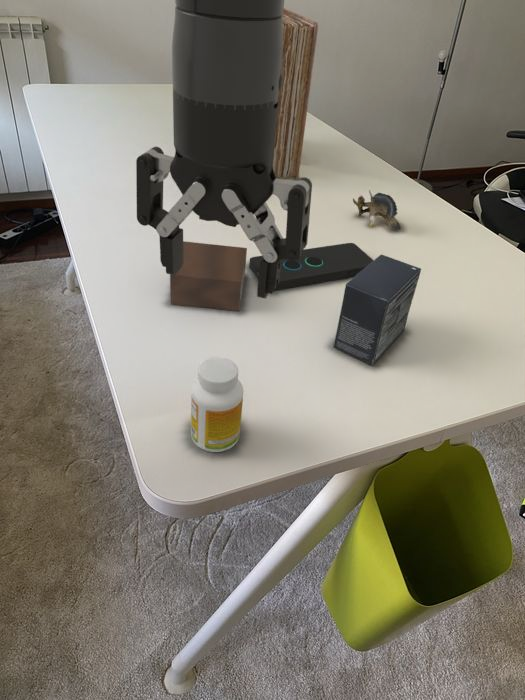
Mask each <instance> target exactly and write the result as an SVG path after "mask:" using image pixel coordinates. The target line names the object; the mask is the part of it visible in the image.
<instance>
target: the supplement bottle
mask: <svg viewBox="0 0 525 700" xmlns="http://www.w3.org/2000/svg"><path fill="white" fill-rule="evenodd" d="M197 375H198V376H197V377H196V378H195V380H194V381H193V383H192V385H191V390H190V391H191V392H190V434H191V435H190V436H191V439H192V441H193V443H194V444H195V445H196V446H197V447H198V448H199V449H201V450H204V451H207V452H212V453H220V452H221V453H222V452H225V451H228V450H230V449H232V448H233V447H234V446H235V445H236V444H237V443H238V442H239V439H240V435H241V424H242V412H243V402H244V387H243V384H242V382H241V381H240V380H239V368H238V366H237V363H236V362H234V361H233V360H231V359H230V358H227V357H224V356H213V357H208V358H206V359H205V360H203V361H201V363H200V364H199V366H198V372H197Z"/></svg>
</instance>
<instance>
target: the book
mask: <svg viewBox="0 0 525 700" xmlns="http://www.w3.org/2000/svg"><path fill="white" fill-rule="evenodd" d="M282 16H283V25H282V28H283V62H282V73H283V77H282V86H281V89H280V93H279V104H278V114H277V125H276V135H275V146H274V156H273V170H274V173H275V176H276V178H277V179H283V178H294V179H295V180H299V176H300V170H301V162H302V155H303V154H302V152H303V147H304V139H305V131H306V123H307V115H308V108H309V107H308V106H309V100H310V99H309V98H310V92H311V85H312V84H311V83H312V77H313V68H314V61H315V53H316V45H317V39H318V30H319V22H317V21H315V20H313V19H310V18H308V17H306V16H303V15H301V14H298V13H296V12H295V11H292V10H289V9H287V8H285V7H284V8H283V15H282Z"/></svg>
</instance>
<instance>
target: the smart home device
mask: <svg viewBox="0 0 525 700" xmlns="http://www.w3.org/2000/svg"><path fill="white" fill-rule="evenodd" d="M262 258H263V256H262V255H257V256H252V257H250V258H249V262H248V263H249V265H248V268H249V269H250V270H251V272H252V273H253V274H254V275H255V277H256V278H257V279H258V278H259V267H260V261H261V259H262ZM374 260H375V259H372V257H370V256H369V255H368V254H367V252H365V251H363V249H362V248H360V247H359V246H358V245H357V244H356V243H354V242H346V243H339V244H331V245H324V246H319V247H312V248H304V249H303V251H302V252H301V255H300V257H299V259H298V260H296V261H290V260H289V259H283V260H282V263H281V271H280V280H279V283H278V285H277V286H276V288H275V290H274V291H273V292H275V291H280V290H286V289H291V288H297V287H303V286H309V285H314V284H315V285H316V284H320V283H321V284H322V283H327V282H331V281H337V280H343V279H349V278H354V277H355V276H356V275H357V274H358V273H360V272H361V271H362V270H363V269H364V268H366V267H367V266H368V265H369V264H370V263H371V262H373V261H374Z"/></svg>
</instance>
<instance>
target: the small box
mask: <svg viewBox="0 0 525 700" xmlns="http://www.w3.org/2000/svg"><path fill="white" fill-rule="evenodd" d="M373 260H374V261H373V262H371V263H370V264H369V265H368V266H367V267H366V268H364V269H363V270H362V271H361V272H360V273H358V274H357V275H356V276H355V277H351V279H350V280H348V281H347V282H346V283H345V288H344V293H343V298H342V302H341V307H340V314H339V318H338V323H337V326H336V327H337V328H336V333H335V338H334V342H333V348H334V349H335V350H338V351H340V352H341V353H345V354H346V355H348V356H350V357H353V358H354V359H357V360H359V361H361V362H363V363H365V364H367V365H369V366H374V365H375V364H376V363H377V361H378V360H379V359H380V358H381V357H382V356H383V355H384V354H385V353H386V351H387V350H389V349H390V347H391V346H392V345H393V344H394V343H395V342H396V340H397V339H399V337H400V336H402V334H403V333H404V331H405V330H406V325H407V321H408V317H409V313H410V309H411V307H412V303H413V301H414V300H413V299H414V296H415V292H416V289H417V285H418V282H419V279H420V275H421V271H422V268H421V267H418V266H415V265H413V264H410V263H407V262H404V261H401V260H398V259H396V258H392V257H390V256H388V255H384V254H380V255H378V256H377V257H376V258H374V259H373Z"/></svg>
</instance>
